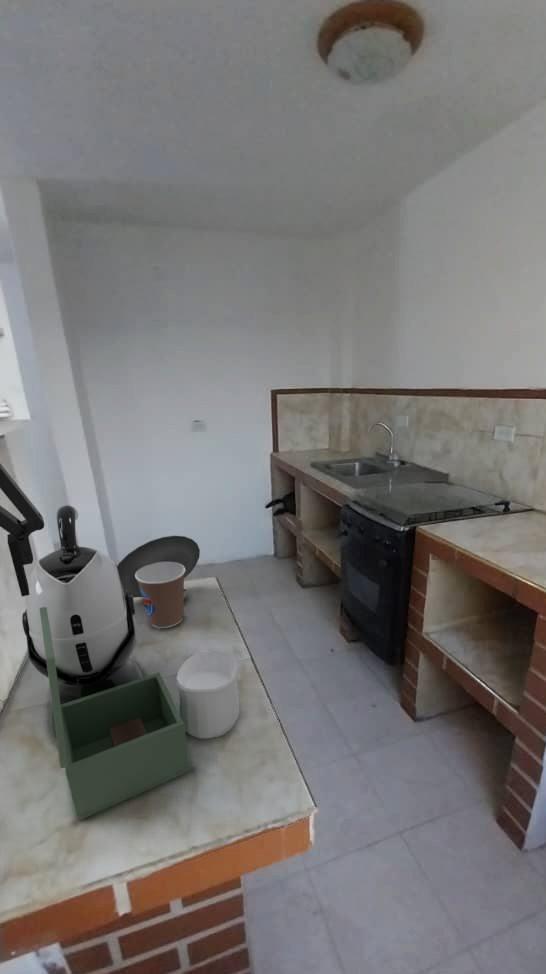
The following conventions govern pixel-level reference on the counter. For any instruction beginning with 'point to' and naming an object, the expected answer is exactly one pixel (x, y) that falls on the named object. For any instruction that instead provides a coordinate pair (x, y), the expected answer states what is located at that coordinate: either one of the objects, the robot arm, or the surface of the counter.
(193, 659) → the cup
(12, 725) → the counter surface
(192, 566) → the plate
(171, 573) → the coffee cup
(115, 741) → the block
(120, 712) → the chest
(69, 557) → the kettle
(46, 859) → the counter surface
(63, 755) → the lid
